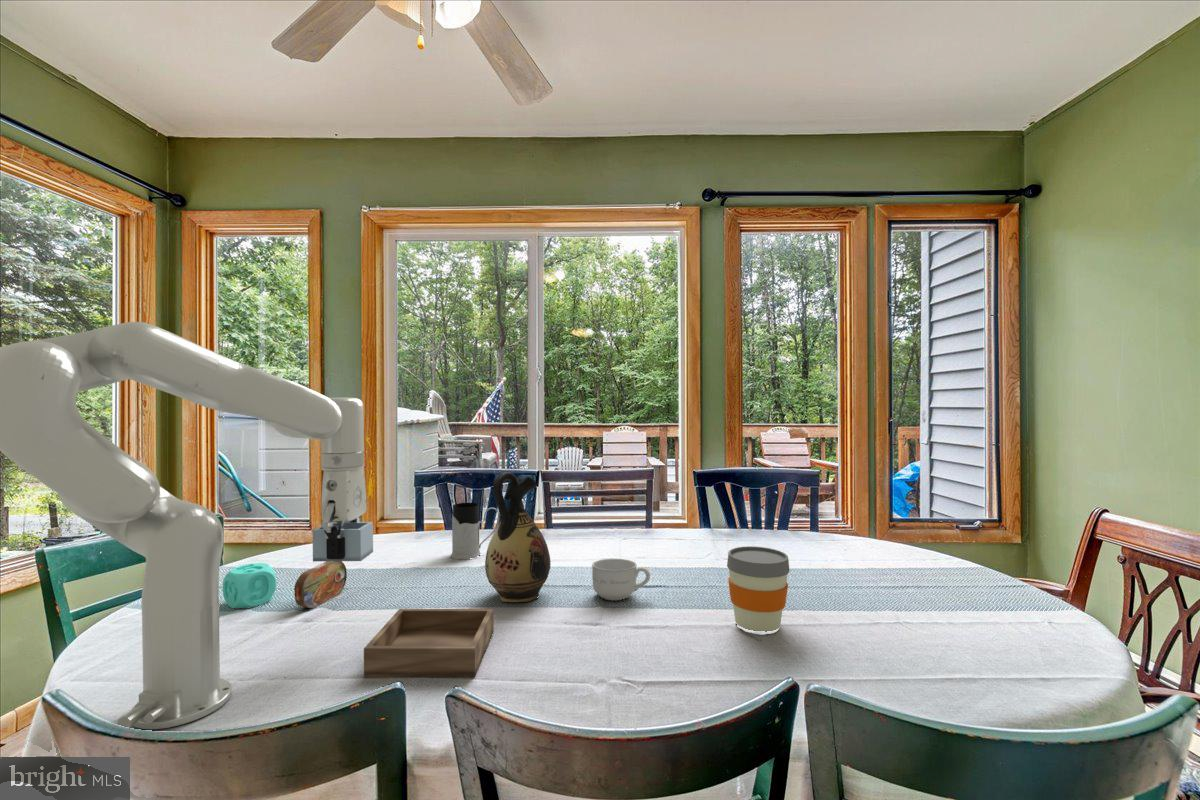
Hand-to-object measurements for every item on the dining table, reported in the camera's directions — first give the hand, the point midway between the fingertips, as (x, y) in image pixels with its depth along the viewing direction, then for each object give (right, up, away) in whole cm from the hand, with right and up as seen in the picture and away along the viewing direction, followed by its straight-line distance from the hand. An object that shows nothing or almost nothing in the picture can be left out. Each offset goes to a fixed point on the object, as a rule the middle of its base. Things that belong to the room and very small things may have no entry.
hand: (343, 552), depth 107 cm
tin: (-15, -17, +21) cm, 32 cm away
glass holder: (+13, -17, +58) cm, 61 cm away
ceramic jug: (+30, -17, +24) cm, 42 cm away
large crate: (+19, -18, -4) cm, 26 cm away
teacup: (+55, -17, +24) cm, 62 cm away
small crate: (0, -1, 0) cm, 1 cm away
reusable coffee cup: (+83, -18, +8) cm, 85 cm away
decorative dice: (-31, -17, +20) cm, 41 cm away
